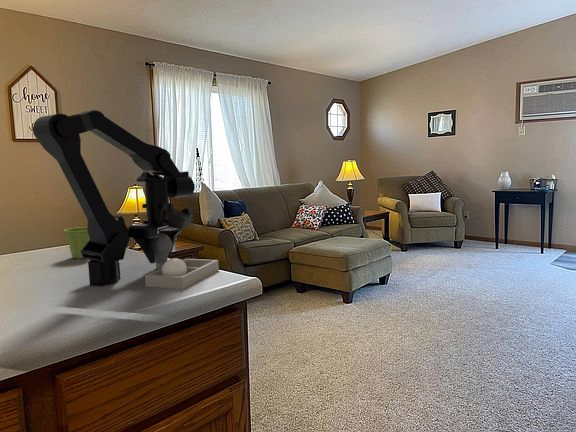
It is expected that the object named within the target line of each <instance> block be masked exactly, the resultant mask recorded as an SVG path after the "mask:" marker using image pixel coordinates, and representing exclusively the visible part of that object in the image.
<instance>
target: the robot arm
mask: <svg viewBox="0 0 576 432" xmlns="http://www.w3.org/2000/svg"><path fill="white" fill-rule="evenodd" d="M32 132H33V136H34V137H35V139H36V140H37V141H38V142H39V144H40V145H41V147H42V148H43V149H44V150H45V151H46V152H47V153H48V154H49V155H50V156H51V157H53V158H54V160H55V161H56V162H57V163H58V165H59V168H60V169H61V171H62V173H63V175H64V176H65V179H66V180H67V182H68V184H69V186H70V188H71V190H72V192H73V194H74V195H75V198H76V200H77V202H78V204H79V205H80V207H81V210H82V211H83V214H84V215H85V217H86V219H87V227H88V230H87V231H88V234H89V238H90V240H89V241H88V242H87V244H86V245H85V246H84V247H83V249H82V250H81V254H82V256H83V258H82V259H83V260H89V261H87V264H88V265H87V268H88V276H89V277H88V279H89V286H92V287H93V286H94V287H104V286H110V285H113V284H116V283H118V282H119V280H121V267H120V262H119V261H122V260H124V258H125V256H126V255H125V254H126V251H127V247H128V245H129V241H131V240H130V238H132V239H133V240H134V241H136V243H137V244H138V245H139V247H140V249H141V250H142V251H143V253H144V255H145V257H146V258H147V260H148V263H149V264H156V263H155V249H156V242H157V240H158V239H159V238H160V236H156V235H157V233H163V234H166V235H167V236H168V237H169V238H170V239H171V241H172V248H171V251H170V253H169V255H168V258H171V257H172V254H173V250H174V246H175V242H176V239H177V236H178V235H180V234H181V233H182V232H183V231H184V229H188V228H190V224H191V222H193V221H194V215H193V209H192V208H189V207H184V208H182V210H180V209H176V208H175V205H174V202H170V198H171V199H175V198H176V199H177V198H186V197H187V198H188V197H191V196H192V195H193V194H194V192H195V189H196V188H195V187H196V186H195V185H196V184H195V183H194V180H193V178H192V176H190V175H189V170H188V171H180V170H179V169H178V167H177V165H176V164H175V162H174V161H173V159H172V157H171V153H170V152H169V151H168V150H167V149H165V148H163V147H160V146H158V145H156V144H152V143H148V142H146V141H143V140H142V139H140V138H138V137H137V136H135V135H134V134H132V133H131V132H130V131H128V130H126V129H125V128H124V127H122V126H120V125H119V124H117V123H116V122H115V121H113V120H111V119H110V118H108V117H107V116H105V115H104V113H103V112H102V111H100V110H98V109H91V110H85V111H82V112H80V113H77V114H76V113H75V114H72V115H67V114H65V113H57V114H56V113H55V114H48V115H43V116H40V117H38V118H36V120H35V121H34V122H33V126H32ZM87 132H90V133H92V134H94V136H95V135H96V136H97V137H98V138H100V139H102V140H104V141H105V142H107V143H109V144H110V145H111V146H113V147H115V148H116V149H118V150H120V151H122V153H125V154H126V155H128V156H129V157H130V158H131V159H132V161H133V163H134V164H135V165H136V166H137V167H139V169H141V170H142V171H143V172H141V175H140V176H138V177H137V178H136V182H137V183H144V194H145V195H144V196H145V203H143V204H142V206H141V208H142V209H145V212H146V213H145V214H146V215H145V216H146V219H145V220H142V223H135V224H131V225H129V226H127V225H126V222H125V219H124V217H123V216H121V215H114V214H112V213H111V212H110V210H109V209H108V207H107V204H106V203H105V200H104V199H103V196H102V194H101V192H100V191H99V188H98V186H97V184H96V183H95V180H94V177H93V176H92V174H91V172H90V169H89V168H88V165H87V164H86V162H85V159H84V158H83V156H82V152H81V151H82V150H81V149H82V148H81V147H82V146H81V145H82V144H81V143H82V142H81V141H82V139H81V134H84V133H87Z"/></svg>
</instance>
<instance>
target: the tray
mask: <svg viewBox="0 0 576 432" xmlns="http://www.w3.org/2000/svg"><path fill="white" fill-rule="evenodd" d="M181 260H182V261H183V262H184V263H185V264H186V267H187V273H186V274H185V275H183V276H164V275H163V274H162V269H156V270H155V271H152V272H149V273H147V274H145V275H144V280H145V281H144V283H145V287H146V288H148V287H149V288H150V287H151V288H161V289H163V288H164V289H165V288H166V289H177V290H184V289H186V288H187V287H189V286H191V285H193V284H195V283H197V282H199V281H200V280H202V279H204V278H206V277H208V276H210V275H211V274H213V273H216V272H217V271H219V268H220V267H219V259H202V258H201V259H200V258H199V259H197V258H184V259H181Z"/></svg>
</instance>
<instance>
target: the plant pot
mask: <svg viewBox="0 0 576 432" xmlns="http://www.w3.org/2000/svg"><path fill="white" fill-rule="evenodd" d="M87 230H88V226H82V227H79V226H78V227H72V228H65V229H63V232H64V233H65V236H66V238H67V242H68V246H69V249H70V254H71V255H70V256H71V258H72V259H79V260H81V259H84V258H83V256H82V254H81V250H82V249H83V247H84V246H85V245H86V244H87V242H88V241H89V240H90V238H89V234H88V231H87Z"/></svg>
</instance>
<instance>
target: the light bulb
mask: <svg viewBox="0 0 576 432" xmlns="http://www.w3.org/2000/svg"><path fill="white" fill-rule="evenodd" d="M156 236H160V238H159V239H158V240H157V242H156V249H155V263H154V264H155V268H156V270H159V269H162V267H163V265H164V263H165V262H166V261H167V260H169V259H168V258H169V257H168V255H169V253H170V251H171V248H172V241H171V239H170V238H169V237H168V236H167V235H166V234H163V233H159V232H157V235H156Z"/></svg>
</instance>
